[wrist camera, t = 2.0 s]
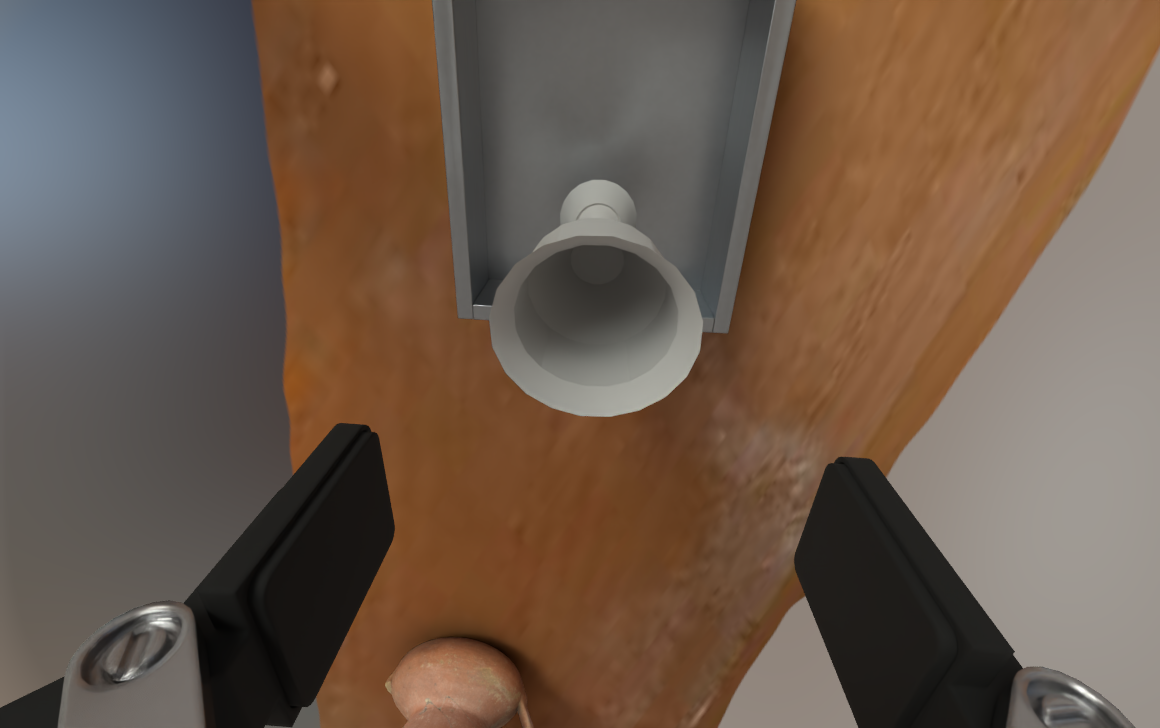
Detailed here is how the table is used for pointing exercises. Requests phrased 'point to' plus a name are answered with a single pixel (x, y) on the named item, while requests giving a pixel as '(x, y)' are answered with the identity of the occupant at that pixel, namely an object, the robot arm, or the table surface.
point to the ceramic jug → (458, 686)
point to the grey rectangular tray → (607, 128)
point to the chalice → (596, 312)
